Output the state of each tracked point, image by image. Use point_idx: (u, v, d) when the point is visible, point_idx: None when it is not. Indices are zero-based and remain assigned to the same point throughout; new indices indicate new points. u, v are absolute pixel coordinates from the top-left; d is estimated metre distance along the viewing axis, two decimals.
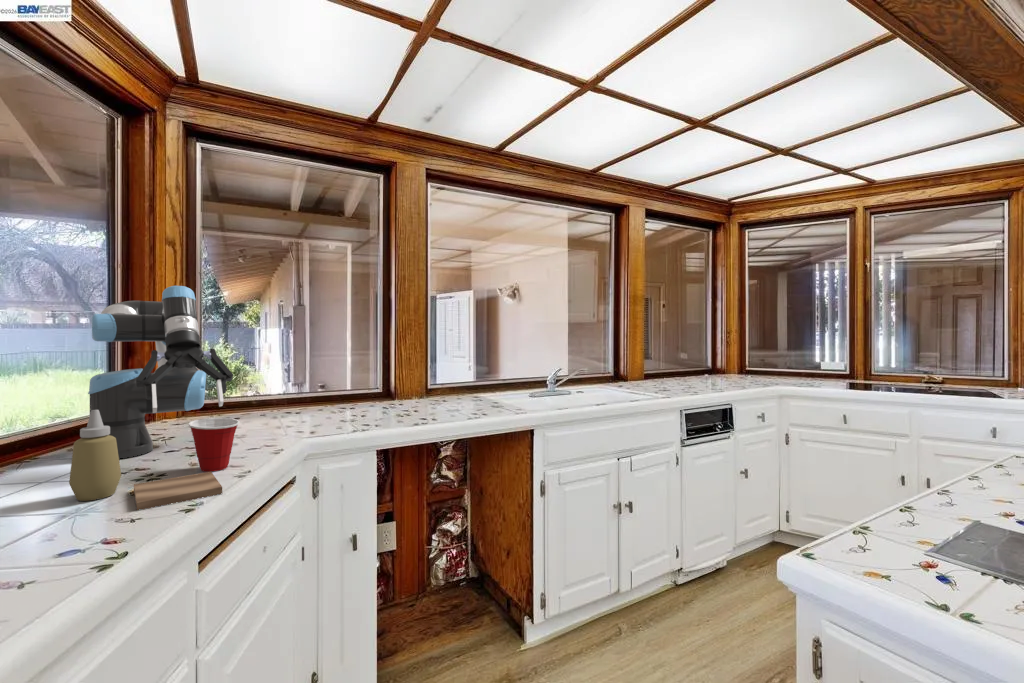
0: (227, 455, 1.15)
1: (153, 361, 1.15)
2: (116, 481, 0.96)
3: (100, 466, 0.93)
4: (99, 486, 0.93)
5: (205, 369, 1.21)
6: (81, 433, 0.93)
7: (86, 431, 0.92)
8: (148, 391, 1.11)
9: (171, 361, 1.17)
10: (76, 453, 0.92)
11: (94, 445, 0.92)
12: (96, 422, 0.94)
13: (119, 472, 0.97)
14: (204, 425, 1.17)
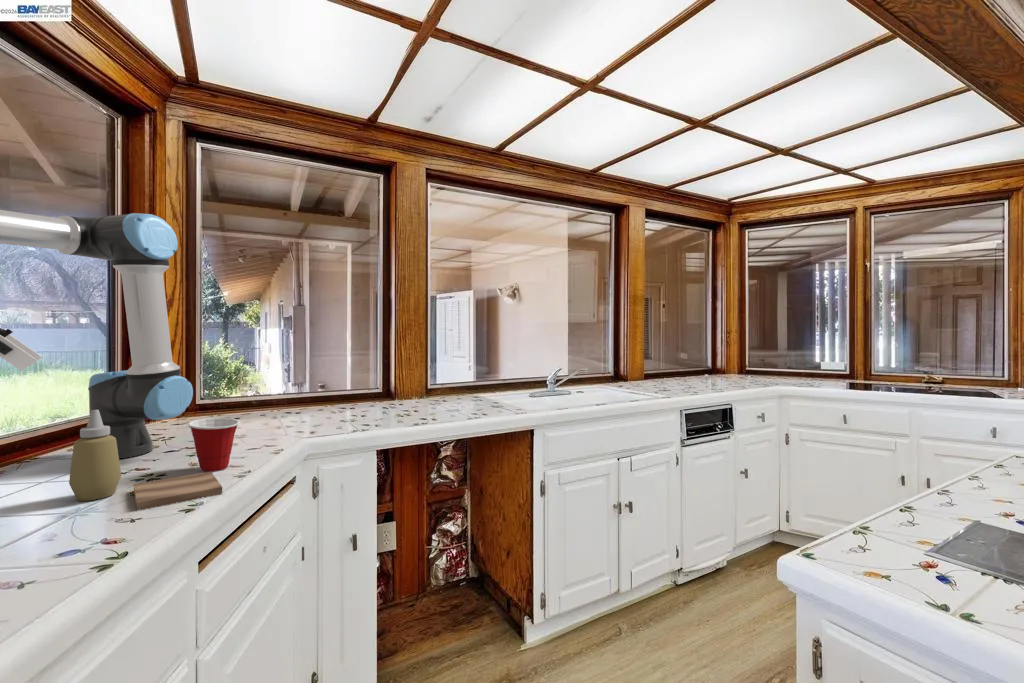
0: (227, 455, 1.15)
1: None
2: (116, 481, 0.96)
3: (100, 466, 0.93)
4: (99, 486, 0.93)
5: None
6: (81, 433, 0.93)
7: (86, 431, 0.92)
8: None
9: None
10: (76, 453, 0.92)
11: (94, 445, 0.92)
12: (96, 422, 0.94)
13: (119, 472, 0.97)
14: (204, 425, 1.17)
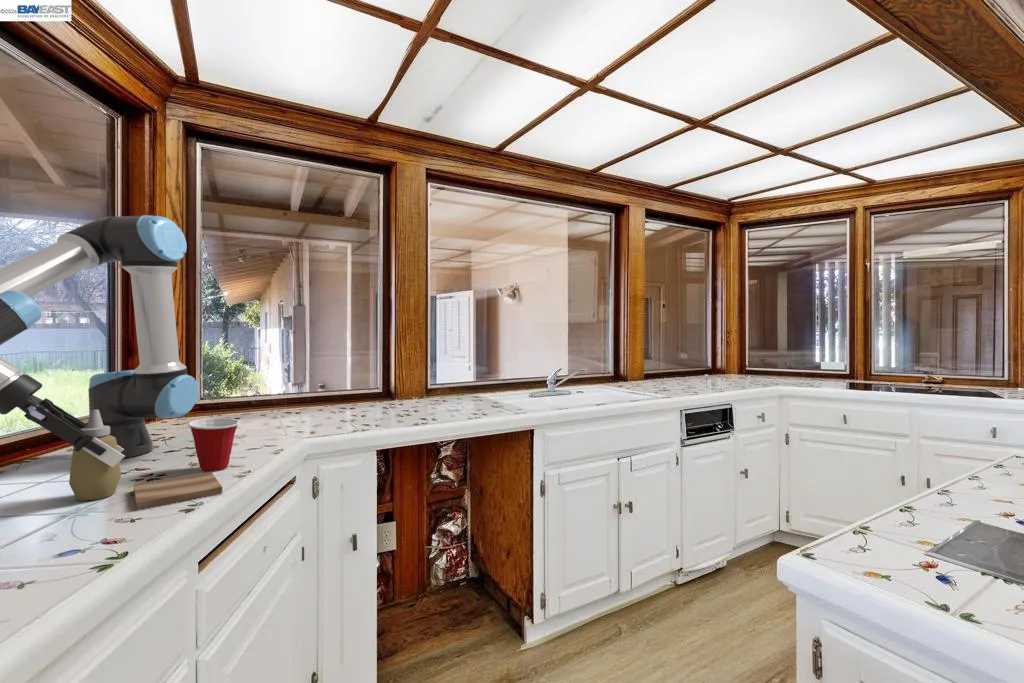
0: (227, 455, 1.15)
1: None
2: (116, 481, 0.96)
3: (100, 466, 0.93)
4: (99, 486, 0.93)
5: None
6: None
7: (86, 431, 0.92)
8: None
9: None
10: (76, 453, 0.92)
11: None
12: (96, 422, 0.94)
13: (119, 472, 0.97)
14: (204, 425, 1.17)
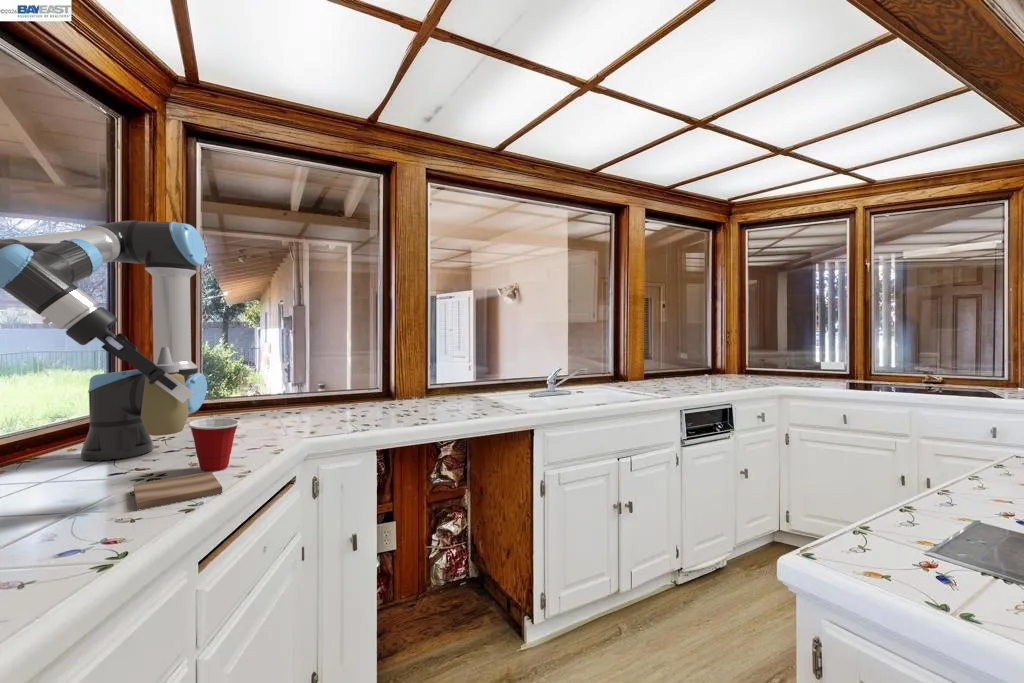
0: (227, 455, 1.15)
1: None
2: (184, 418, 0.97)
3: (171, 401, 0.94)
4: (170, 421, 0.94)
5: None
6: None
7: None
8: None
9: None
10: (148, 388, 0.93)
11: None
12: (166, 359, 0.95)
13: (187, 410, 0.98)
14: (204, 425, 1.17)
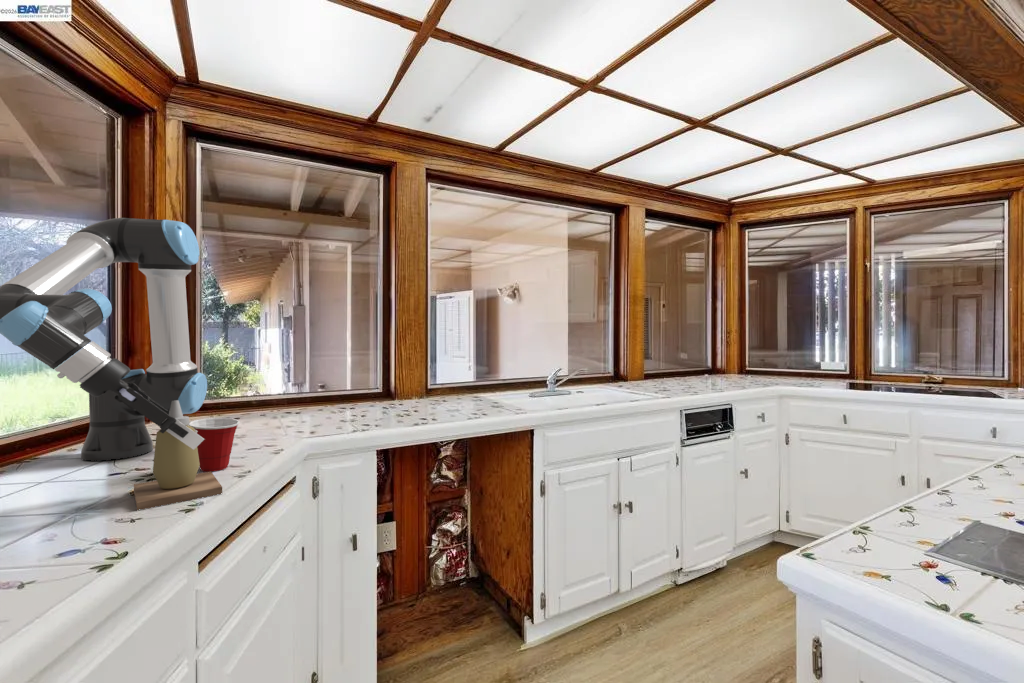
0: (227, 455, 1.15)
1: None
2: (196, 470, 0.98)
3: (183, 454, 0.95)
4: (182, 474, 0.95)
5: None
6: None
7: None
8: None
9: None
10: (160, 442, 0.94)
11: None
12: (177, 412, 0.97)
13: (198, 461, 0.99)
14: (204, 425, 1.17)
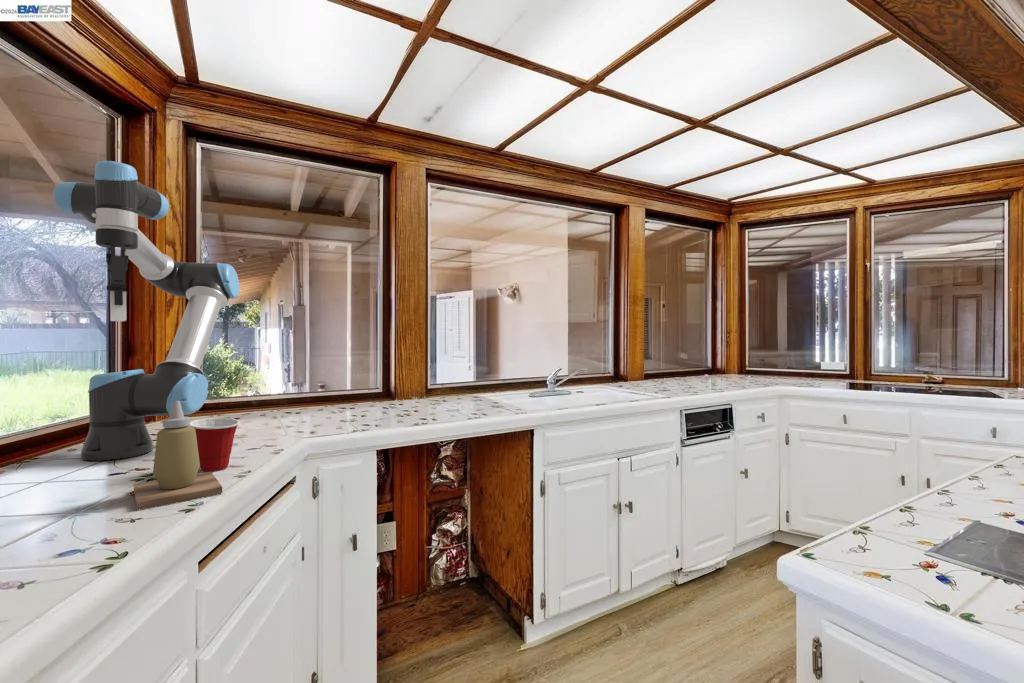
0: (227, 455, 1.15)
1: None
2: (196, 470, 0.98)
3: (183, 456, 0.95)
4: (182, 475, 0.95)
5: None
6: (164, 423, 0.95)
7: (169, 422, 0.95)
8: None
9: None
10: (160, 443, 0.94)
11: (177, 435, 0.95)
12: (178, 413, 0.97)
13: (198, 462, 0.99)
14: (204, 425, 1.17)
